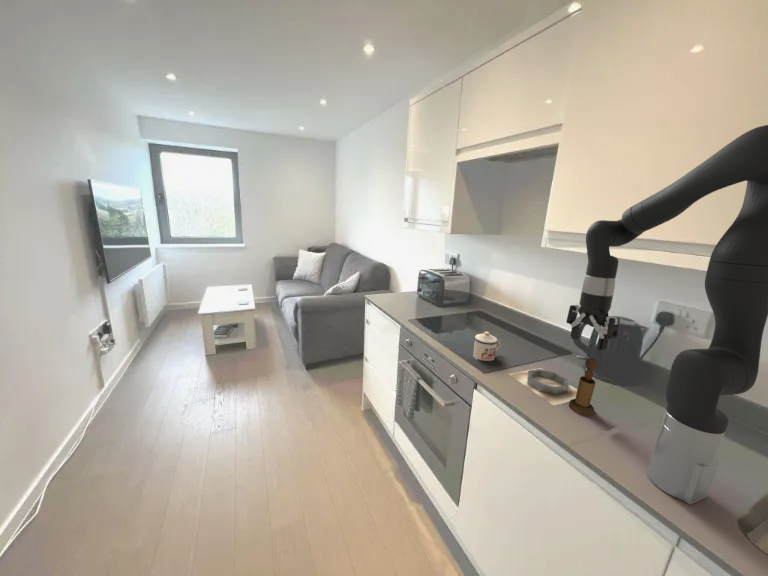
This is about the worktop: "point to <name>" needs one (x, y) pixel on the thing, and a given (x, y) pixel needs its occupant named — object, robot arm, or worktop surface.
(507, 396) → the worktop surface
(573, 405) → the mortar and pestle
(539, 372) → the steel collar
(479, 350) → the teacup with lid
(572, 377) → the worktop surface
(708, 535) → the worktop surface
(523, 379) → the beech board
